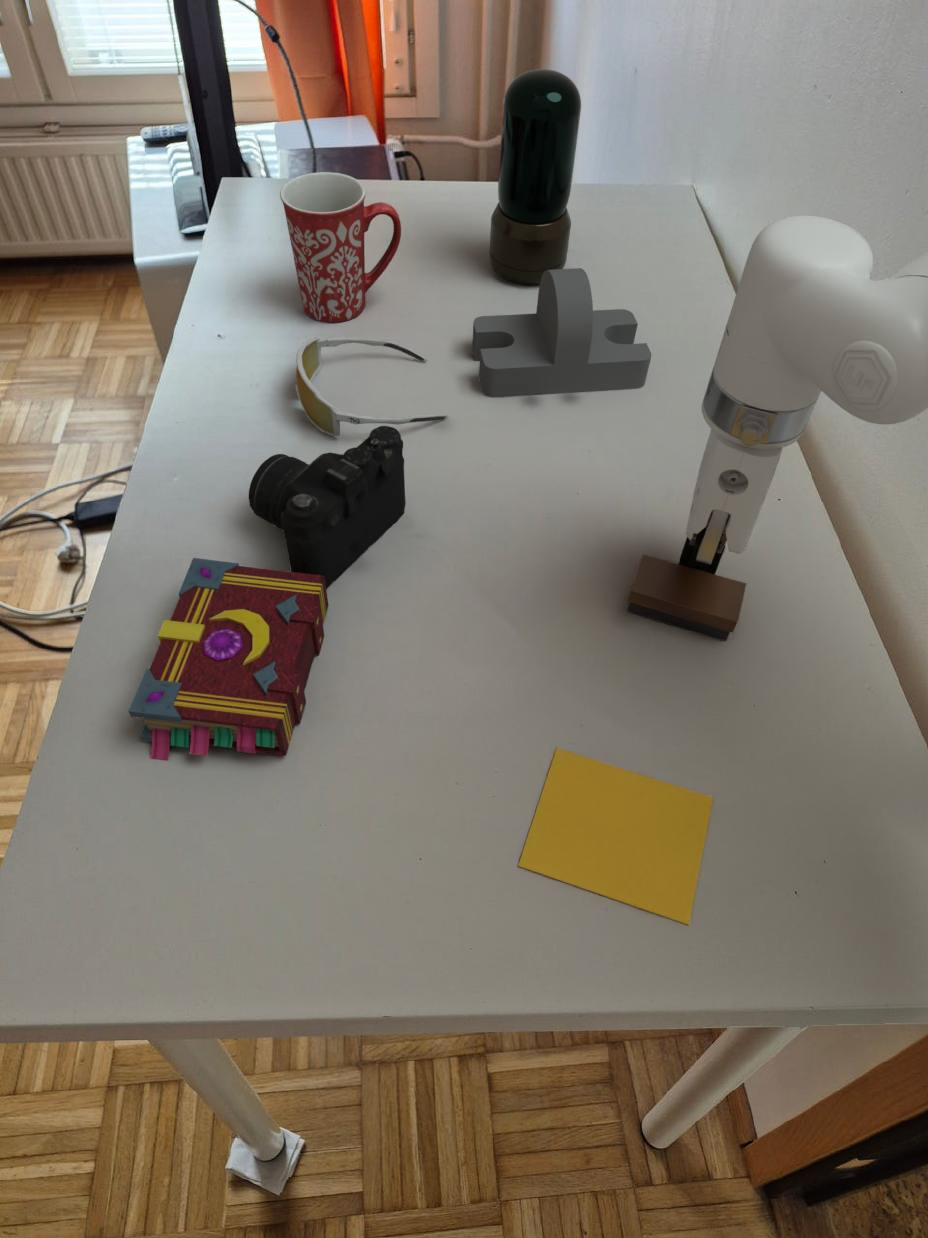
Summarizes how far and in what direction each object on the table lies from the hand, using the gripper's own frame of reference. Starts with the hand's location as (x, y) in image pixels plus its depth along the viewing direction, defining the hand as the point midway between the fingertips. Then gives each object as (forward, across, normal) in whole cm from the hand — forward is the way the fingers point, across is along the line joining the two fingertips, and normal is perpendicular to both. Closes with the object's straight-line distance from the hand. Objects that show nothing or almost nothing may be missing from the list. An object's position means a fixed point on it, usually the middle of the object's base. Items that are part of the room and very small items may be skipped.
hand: (696, 568), depth 78 cm
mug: (+2, +28, +46) cm, 54 cm away
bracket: (+2, +26, +20) cm, 32 cm away
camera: (+2, -6, +33) cm, 33 cm away
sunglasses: (+2, +12, +37) cm, 39 cm away
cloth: (+1, -26, 0) cm, 26 cm away
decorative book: (+2, -24, +32) cm, 40 cm away
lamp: (+2, +44, +29) cm, 52 cm away
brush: (+1, -4, 0) cm, 4 cm away
